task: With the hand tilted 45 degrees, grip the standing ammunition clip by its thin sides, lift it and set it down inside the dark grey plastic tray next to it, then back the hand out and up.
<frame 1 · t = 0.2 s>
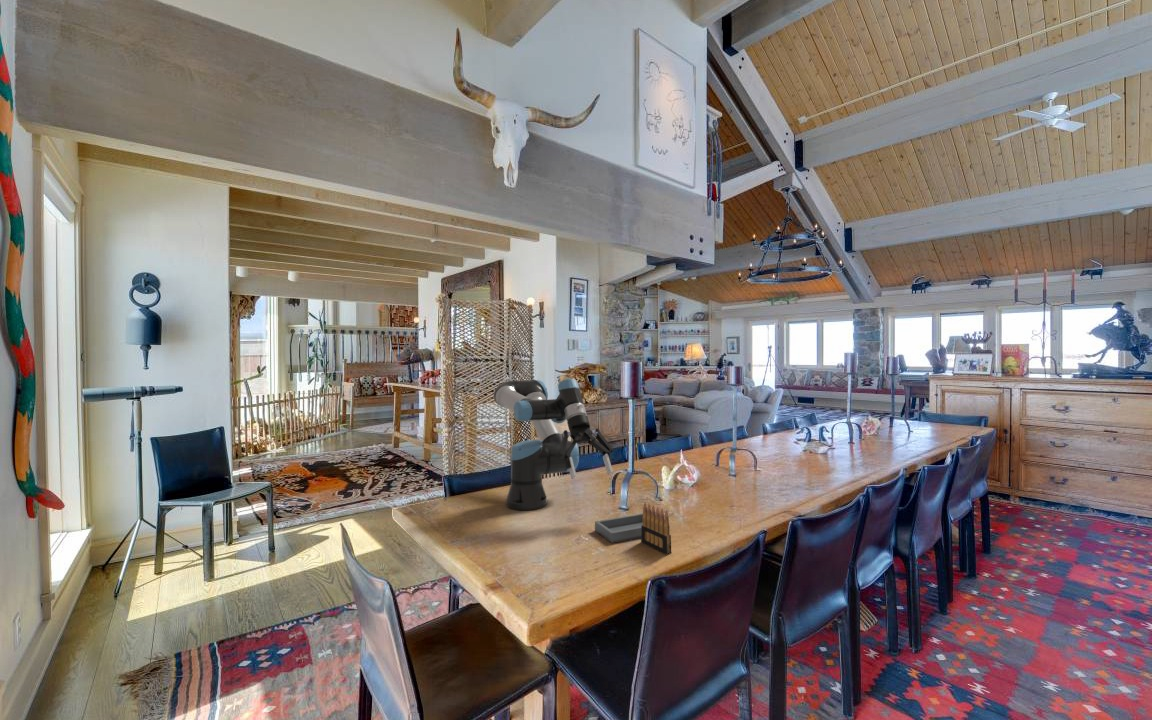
hand: (592, 475, 152), 16 cm above the table, tool tilted 35°, fingers open, 13 cm apart
tray: (631, 531, 145), on the table
ammunition clip: (655, 548, 132), on the table
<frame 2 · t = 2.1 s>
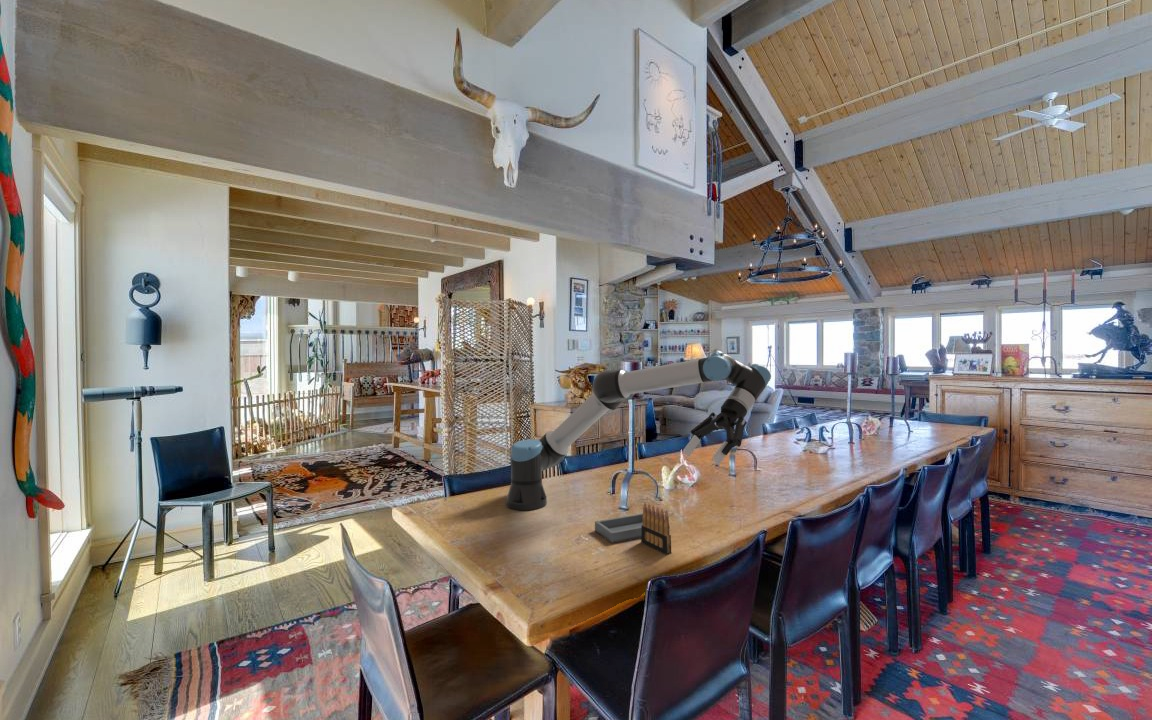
hand: (700, 457, 139), 24 cm above the table, tool tilted 45°, fingers open, 13 cm apart
nothing on the table moved.
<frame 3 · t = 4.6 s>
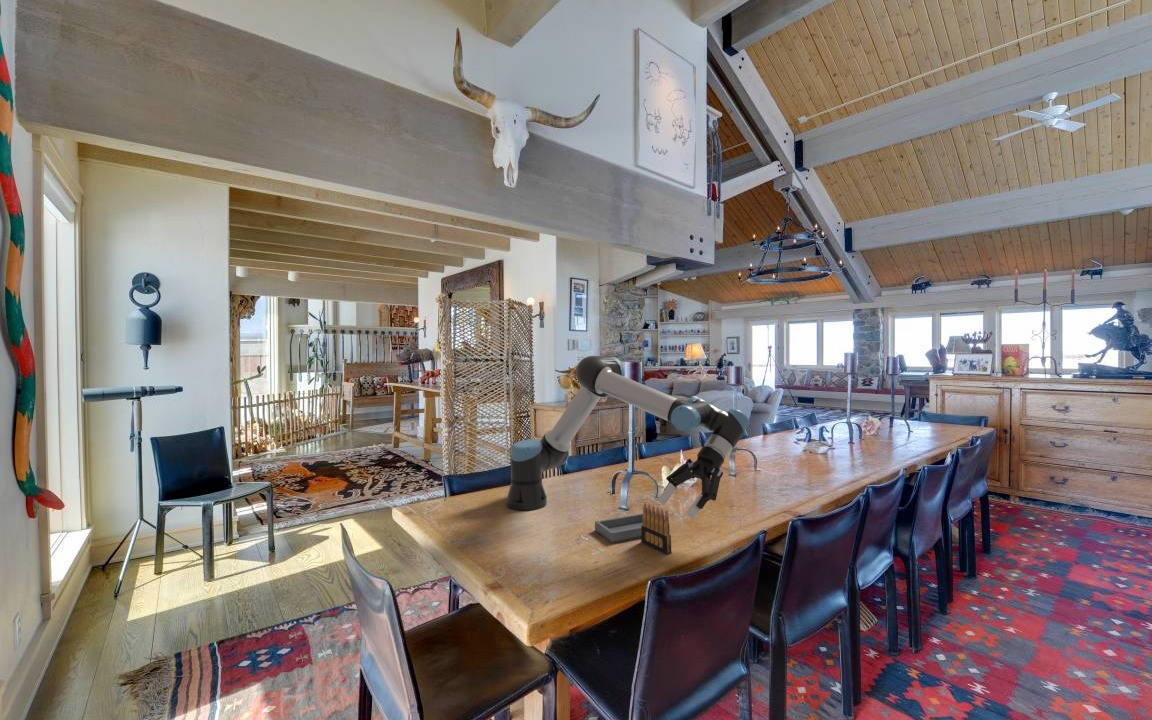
hand: (674, 509, 134), 11 cm above the table, tool tilted 45°, fingers open, 13 cm apart
nothing on the table moved.
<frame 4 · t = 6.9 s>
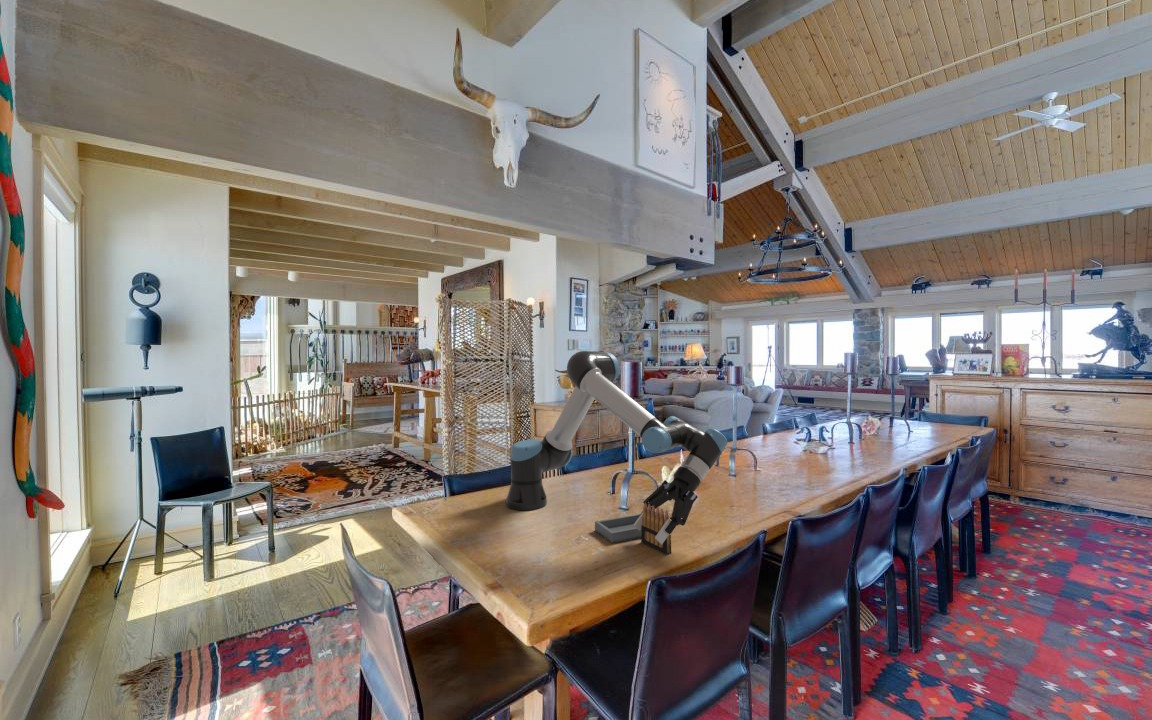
hand: (647, 534, 131), 4 cm above the table, tool tilted 45°, fingers closed on ammunition clip, 10 cm apart
ammunition clip: (655, 548, 132), on the table, touching gripper
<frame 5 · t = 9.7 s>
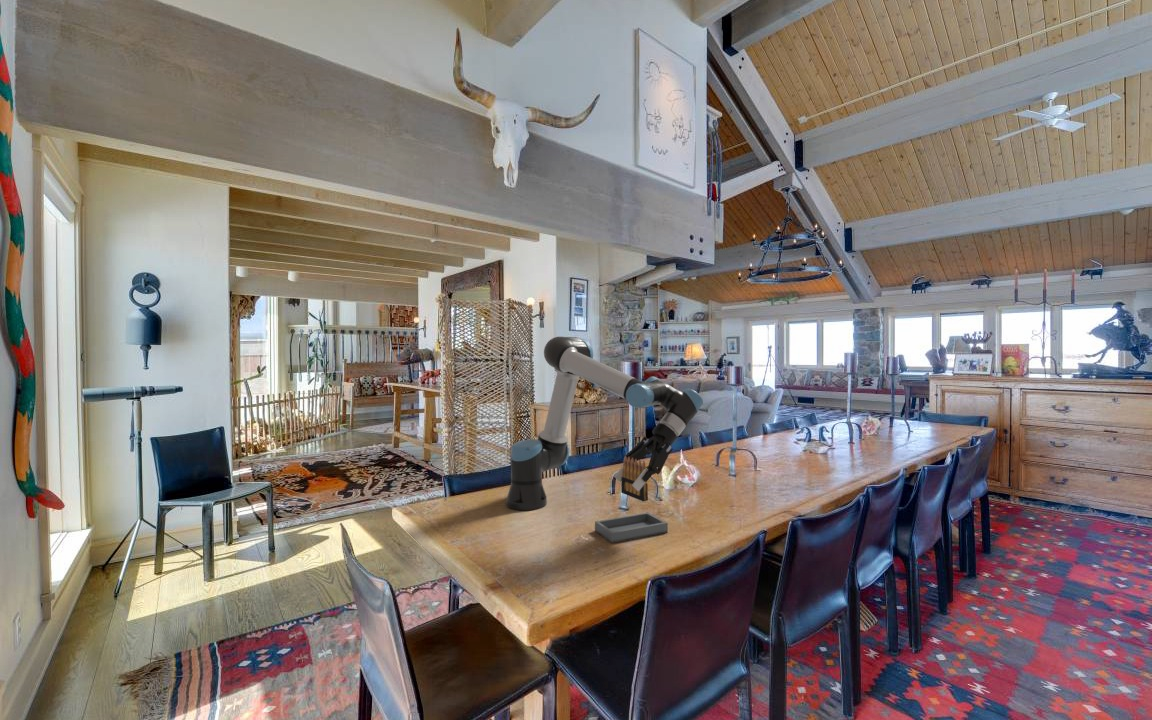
hand: (625, 483, 142), 16 cm above the table, tool tilted 45°, fingers closed on ammunition clip, 10 cm apart
ammunition clip: (634, 497, 143), point 11 cm above the table, touching gripper
when the fingers open (6 cm above the table, at t = 12.5 s): ammunition clip stays where it is, resting on tray.
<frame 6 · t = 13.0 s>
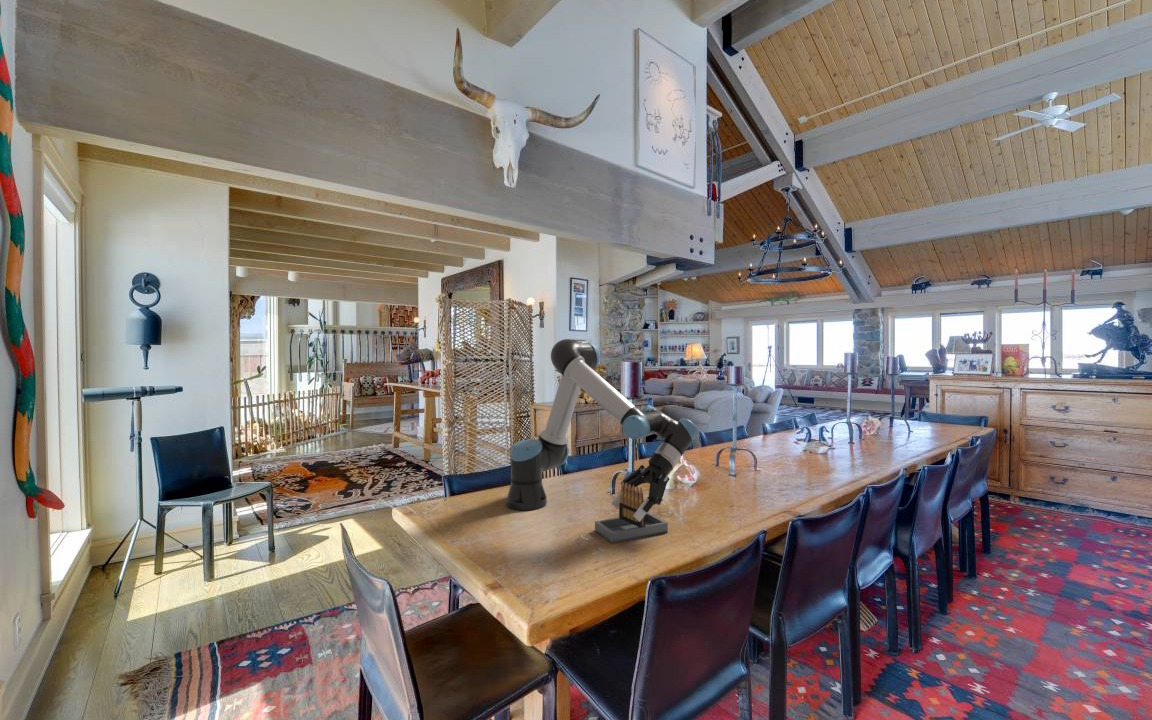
hand: (624, 512, 144), 6 cm above the table, tool tilted 45°, fingers open, 13 cm apart
ammunition clip: (631, 522, 145), point 3 cm above the table, touching tray
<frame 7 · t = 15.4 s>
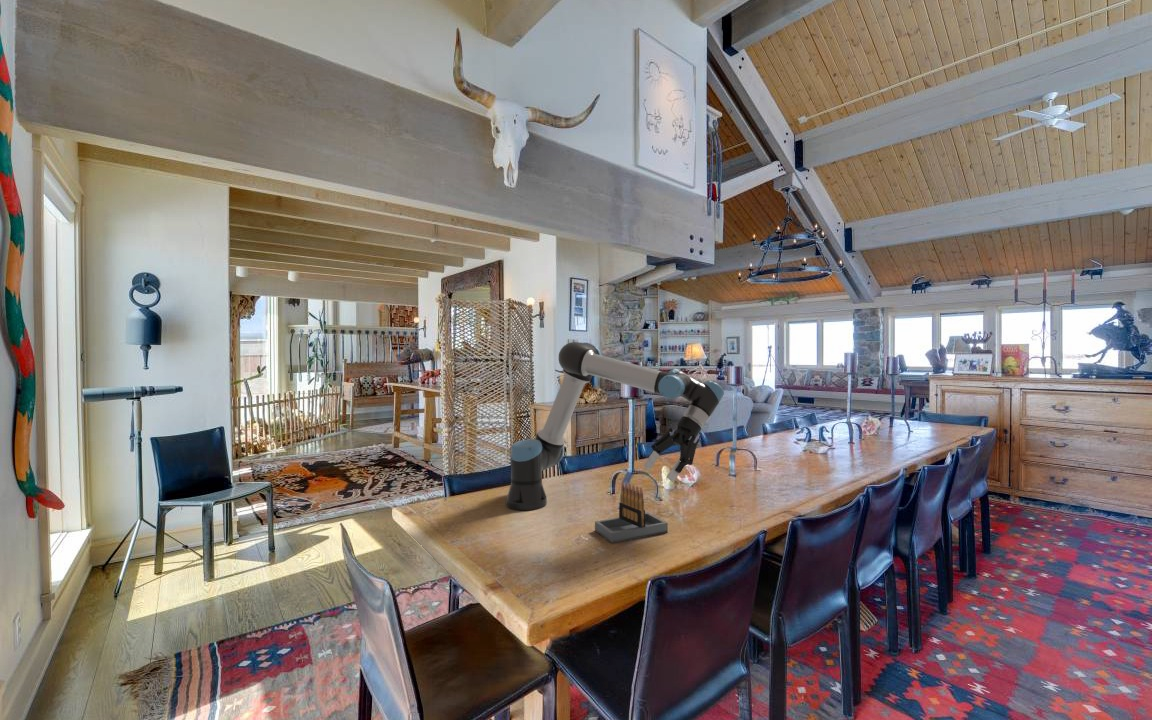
hand: (657, 474, 150), 17 cm above the table, tool tilted 40°, fingers open, 13 cm apart
nothing on the table moved.
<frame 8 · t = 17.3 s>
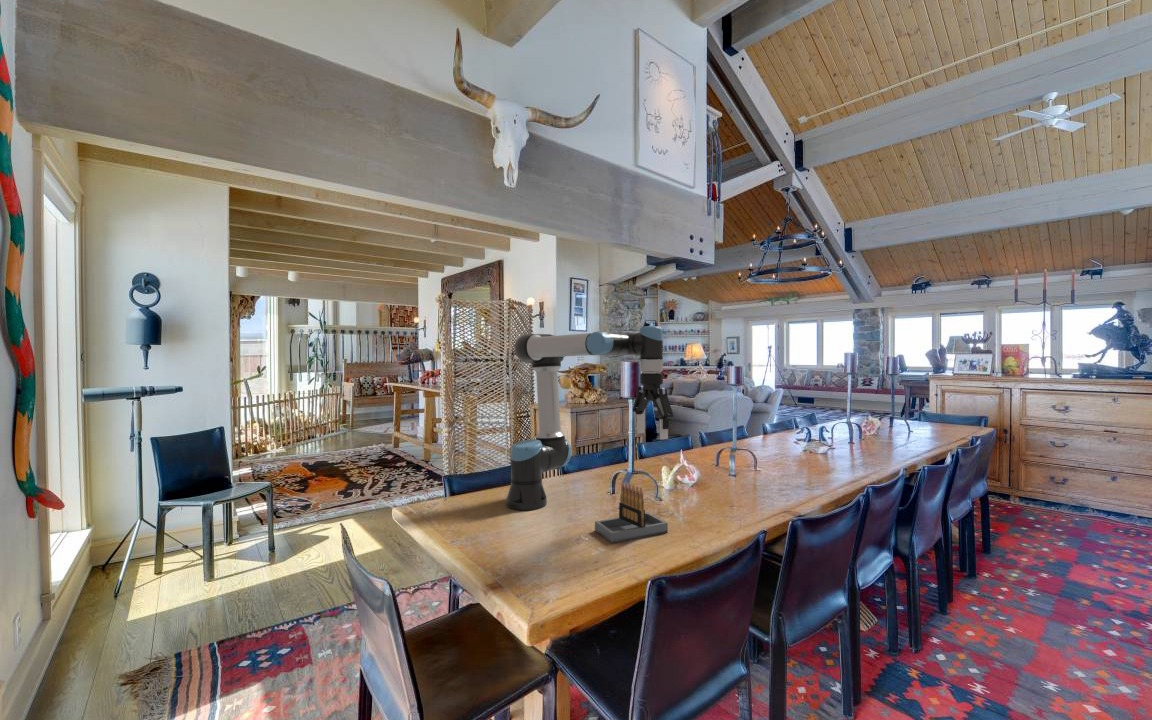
hand: (651, 436, 153), 29 cm above the table, tool pointing down, fingers open, 13 cm apart
nothing on the table moved.
at the end: ammunition clip inside the target area on the tray (0.3 cm from its centre), point 2.8 cm above the tray's base; the gripper is holding nothing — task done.
